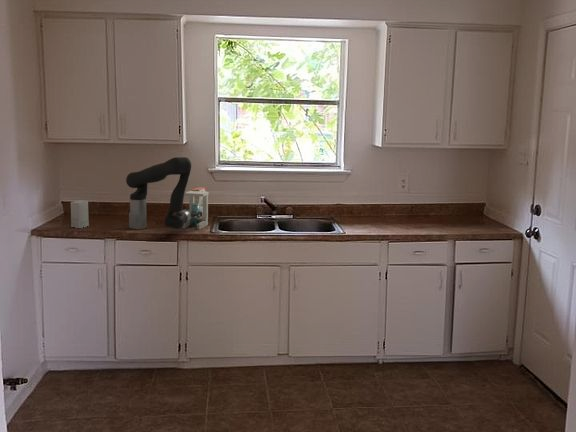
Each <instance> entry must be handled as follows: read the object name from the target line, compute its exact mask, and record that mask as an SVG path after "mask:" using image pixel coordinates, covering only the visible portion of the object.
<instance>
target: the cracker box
mask: <svg viewBox="0 0 576 432" xmlns="http://www.w3.org/2000/svg"><path fill="white" fill-rule="evenodd" d="M207 190H208V189H207V187H204V186H203V187H196V188H193V189H191V190H190V191H200V192H208V191H207ZM194 203H200V205H199V211H201V212H202V216H201V217H199V219H203V197H199V196H194Z"/></svg>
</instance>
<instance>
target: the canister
mask: <svg viewBox="0 0 576 432" xmlns="http://www.w3.org/2000/svg"><path fill="white" fill-rule="evenodd" d="M199 205H200V203H191V211H197V212H198V211H199ZM194 213H195V212H194ZM198 223H199V218H198V217H193V218H192V220H191V225H190V227H192V228H197V224H198Z"/></svg>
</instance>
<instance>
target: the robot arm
mask: <svg viewBox="0 0 576 432" xmlns="http://www.w3.org/2000/svg"><path fill="white" fill-rule="evenodd" d="M191 171H192V162H191V160H190V158H189V157H181V156H179V157H178V156H177V157H173V158H170V159H168V160H166V161H165V162H162V163H157V164H154V165H151V166H149V167H146V168H144V169H142V170H140V171H133V172H130V173H128V174H127V175H126V179H125V182H126V185H127V186H128V187H129V188H132V189H136V190H135V191H134V192H132V193H131V194H130V195H129V212H128V224H129V229H134V230H142V229H146V228H147V195H148V184H153V183H157V182H161V181H163V180H165V179H166V178H167V176H171V175H173V176H174V175H175V176H176V175H179V179H178V181H177V184H176V185H175V187H174V189H173V190H172V192H171V196H170V198H169V199H170V200H169V207H168V210H167V212H166V213H167V214H166V216H165V218H164V225H165V226H166V227H169V228H174V229H178V230H179V229H183V228H182V227H183V224H184V223H187V222H189V221H191V220H192V218H193V217H198V218H199V217H201V216H202V212H201V211H198V212H197V211H191V210H189V209H188V208H185V209H183V205H184V198H185V196H184V193H186V189H187V185H188V181H189V177H190V174H191ZM194 212H195V213H194ZM174 213H175V214H174Z"/></svg>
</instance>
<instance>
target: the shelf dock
mask: <svg viewBox="0 0 576 432" xmlns="http://www.w3.org/2000/svg"><path fill="white" fill-rule="evenodd" d="M209 194H210V193H209V191H207V192H200V191H191V190H189V191H185V193H184V197H185V196H186V197H189V198H188V199H189V202H188V203H189V204H188V205H189V210H191V203H194V196H199V197H203V219H199V223H198V224H197V227H196V230H201V229H202V228H205V227H206V226H208V224H209V221H208V220H209ZM189 226H191V221H189V222H187V223H184V224H183V227H182V228H181V229H186V228H188V227H189Z"/></svg>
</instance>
